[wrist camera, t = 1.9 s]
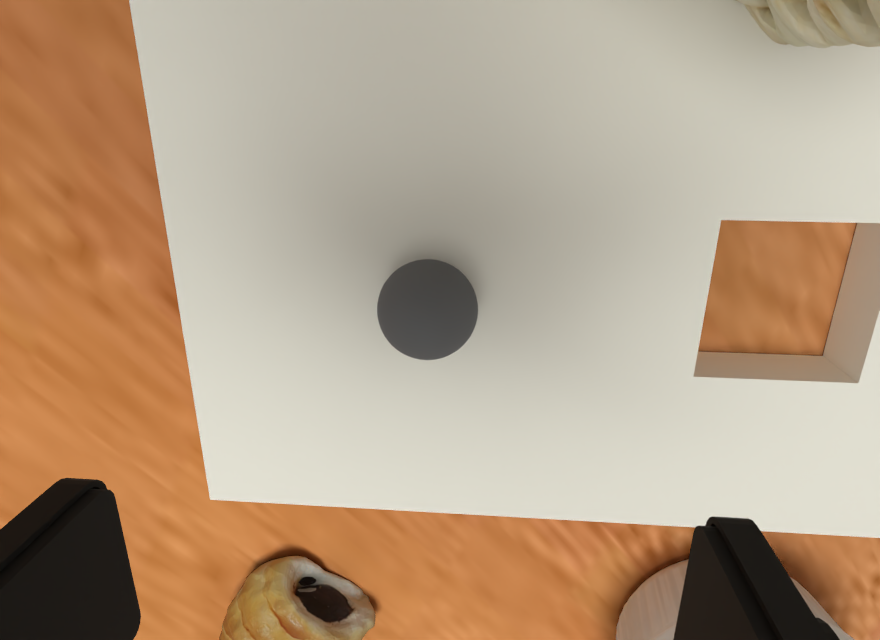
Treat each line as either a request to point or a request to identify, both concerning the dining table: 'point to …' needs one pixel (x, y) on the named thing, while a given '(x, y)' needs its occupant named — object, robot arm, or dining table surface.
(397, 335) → the ball
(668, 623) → the ramekin
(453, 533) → the dining table surface
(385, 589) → the dining table surface
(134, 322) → the dining table surface
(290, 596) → the pastry
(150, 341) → the dining table surface
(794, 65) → the board
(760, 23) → the storage basket
